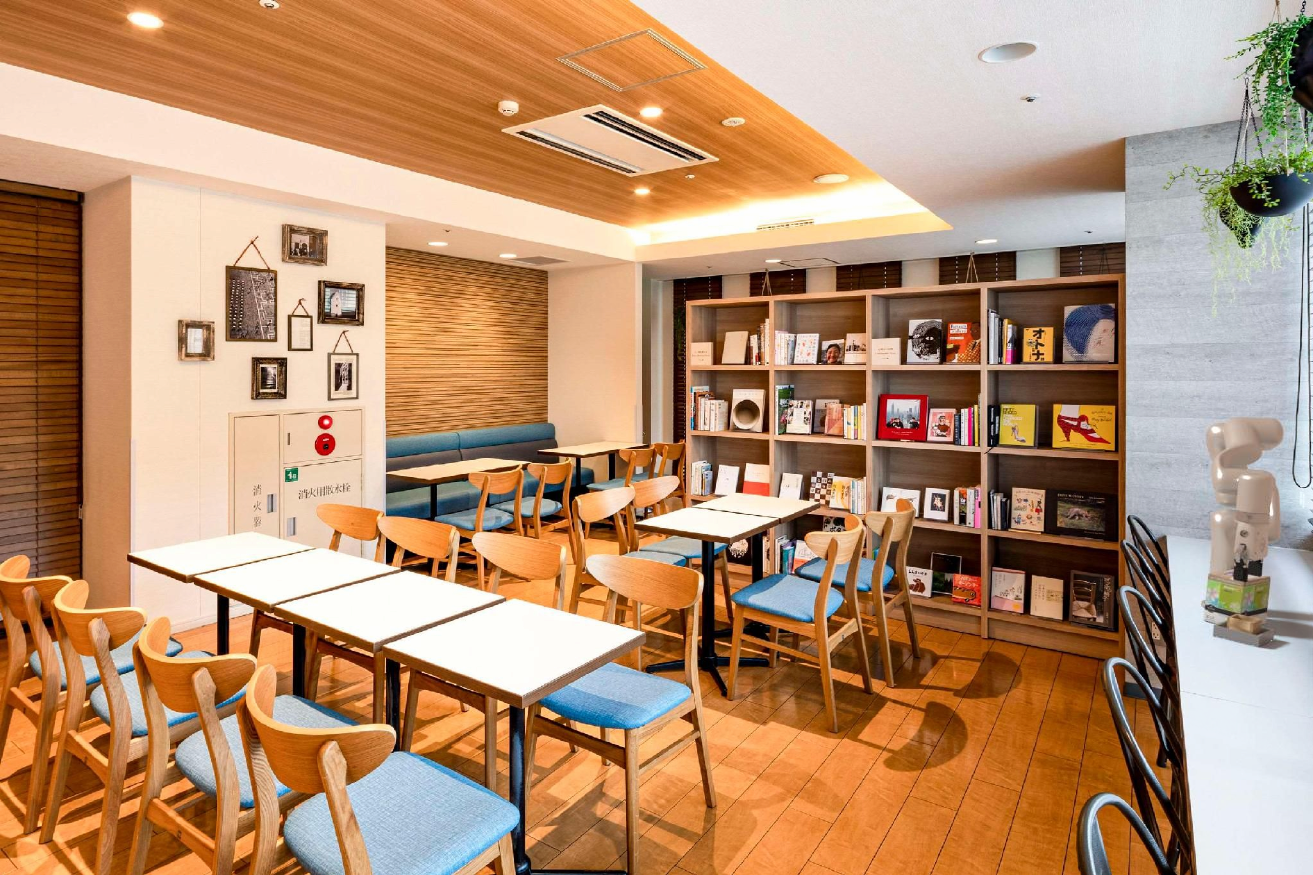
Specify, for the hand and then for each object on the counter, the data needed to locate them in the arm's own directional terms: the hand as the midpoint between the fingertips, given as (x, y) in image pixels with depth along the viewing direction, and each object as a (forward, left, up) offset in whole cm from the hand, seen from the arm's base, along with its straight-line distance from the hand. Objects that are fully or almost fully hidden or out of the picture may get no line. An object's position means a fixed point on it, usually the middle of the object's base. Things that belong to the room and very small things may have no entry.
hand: (1247, 578), depth 212 cm
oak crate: (0, 0, -16) cm, 16 cm away
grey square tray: (0, 0, -17) cm, 17 cm away
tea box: (-14, -7, -17) cm, 23 cm away
